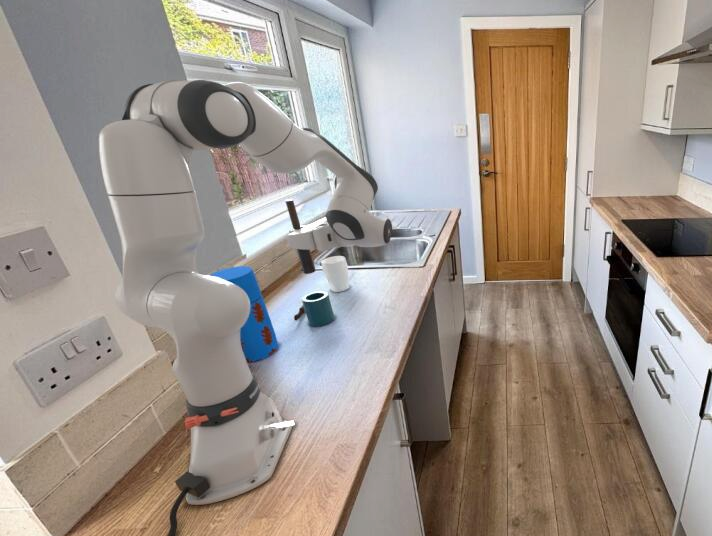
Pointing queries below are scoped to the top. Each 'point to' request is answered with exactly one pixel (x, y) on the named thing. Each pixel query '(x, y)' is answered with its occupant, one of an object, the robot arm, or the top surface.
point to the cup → (336, 272)
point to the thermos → (252, 315)
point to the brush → (303, 254)
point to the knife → (299, 313)
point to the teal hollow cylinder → (318, 308)
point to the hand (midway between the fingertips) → (295, 230)
